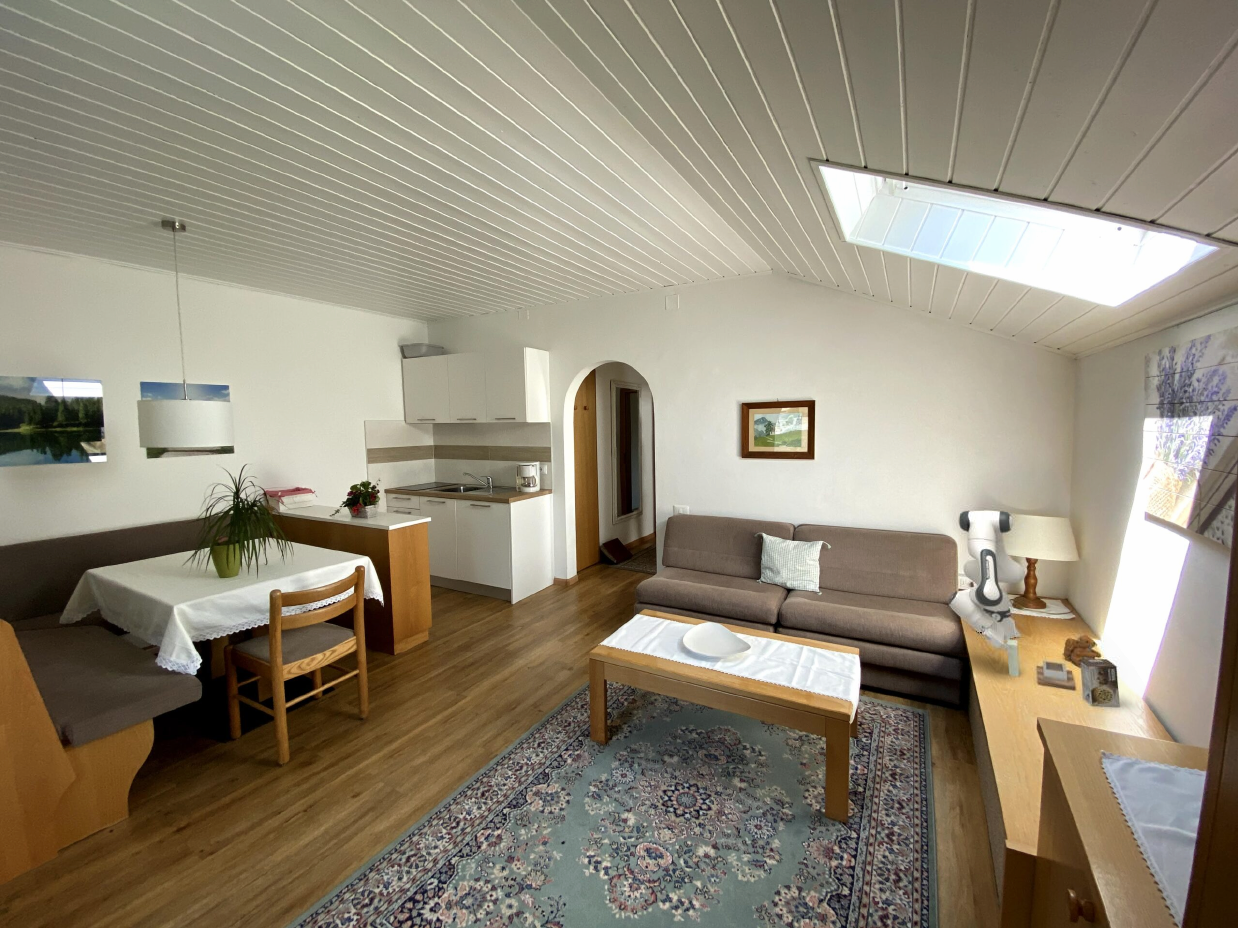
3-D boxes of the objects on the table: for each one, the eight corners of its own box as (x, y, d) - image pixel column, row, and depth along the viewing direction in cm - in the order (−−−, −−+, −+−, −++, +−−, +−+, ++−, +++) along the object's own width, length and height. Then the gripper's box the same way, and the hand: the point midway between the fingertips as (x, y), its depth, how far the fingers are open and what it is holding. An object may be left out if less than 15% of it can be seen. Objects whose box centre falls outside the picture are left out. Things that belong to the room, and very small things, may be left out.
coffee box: (1109, 698, 205) (1107, 658, 204) (1120, 707, 199) (1117, 665, 198) (1081, 697, 208) (1079, 658, 207) (1091, 706, 201) (1089, 665, 201)
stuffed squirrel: (1089, 671, 226) (1087, 642, 226) (1055, 659, 240) (1053, 631, 239) (1106, 666, 229) (1104, 637, 228) (1071, 654, 242) (1070, 627, 242)
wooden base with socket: (1036, 668, 233) (1035, 656, 233) (1072, 673, 226) (1071, 661, 225) (1037, 684, 220) (1037, 671, 220) (1075, 690, 213) (1074, 677, 213)
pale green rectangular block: (1009, 669, 235) (1007, 639, 234) (1019, 670, 233) (1017, 640, 232) (1009, 675, 230) (1007, 644, 230) (1019, 676, 228) (1017, 645, 228)
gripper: (987, 627, 227) (1017, 652, 222) (989, 611, 243) (1017, 635, 238) (975, 635, 230) (1004, 660, 225) (978, 619, 246) (1005, 643, 241)
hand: (1011, 647), depth 231 cm, fingers open, 8 cm apart
